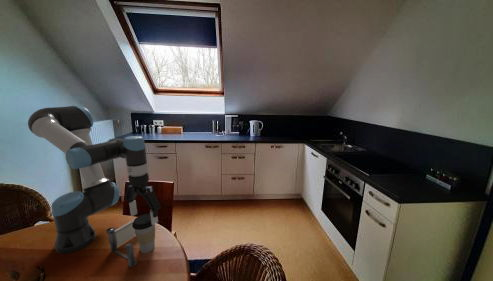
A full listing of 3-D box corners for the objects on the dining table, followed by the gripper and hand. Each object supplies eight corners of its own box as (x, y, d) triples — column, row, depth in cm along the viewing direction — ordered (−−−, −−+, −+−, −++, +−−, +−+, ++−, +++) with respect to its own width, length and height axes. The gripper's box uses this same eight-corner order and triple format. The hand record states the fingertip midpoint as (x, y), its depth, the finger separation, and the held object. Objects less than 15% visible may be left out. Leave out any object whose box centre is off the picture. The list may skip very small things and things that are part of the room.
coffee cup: (150, 257, 93) (146, 226, 90) (131, 254, 95) (126, 224, 91) (162, 242, 102) (159, 214, 99) (144, 239, 104) (141, 211, 100)
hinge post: (108, 251, 96) (104, 230, 94) (115, 246, 99) (112, 226, 97) (112, 254, 95) (109, 232, 92) (119, 249, 98) (116, 228, 95)
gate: (117, 246, 98) (115, 231, 96) (116, 245, 98) (113, 230, 97) (144, 229, 110) (143, 215, 108) (143, 228, 110) (141, 215, 109)
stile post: (128, 266, 89) (125, 245, 86) (132, 263, 90) (129, 242, 88) (131, 267, 88) (128, 246, 85) (135, 265, 89) (132, 244, 87)
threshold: (114, 252, 96) (114, 251, 96) (117, 250, 97) (117, 250, 97) (135, 263, 90) (135, 263, 90) (137, 262, 90) (137, 261, 90)
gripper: (111, 171, 92) (118, 215, 97) (151, 182, 81) (157, 232, 86) (127, 166, 99) (133, 207, 104) (166, 175, 87) (171, 222, 92)
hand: (144, 218), depth 95 cm, fingers open, 13 cm apart
